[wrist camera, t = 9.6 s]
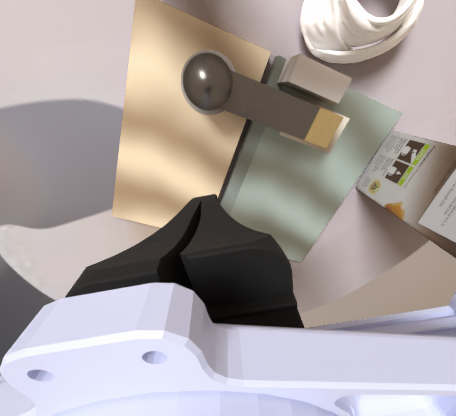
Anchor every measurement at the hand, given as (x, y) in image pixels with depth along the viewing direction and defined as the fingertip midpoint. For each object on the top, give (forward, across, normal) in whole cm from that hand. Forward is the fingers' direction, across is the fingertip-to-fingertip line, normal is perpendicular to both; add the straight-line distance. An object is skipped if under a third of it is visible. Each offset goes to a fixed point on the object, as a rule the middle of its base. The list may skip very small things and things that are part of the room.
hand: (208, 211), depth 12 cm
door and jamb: (+10, -3, +1) cm, 10 cm away
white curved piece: (+10, -12, -9) cm, 18 cm away
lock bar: (+8, -5, -4) cm, 11 cm away
